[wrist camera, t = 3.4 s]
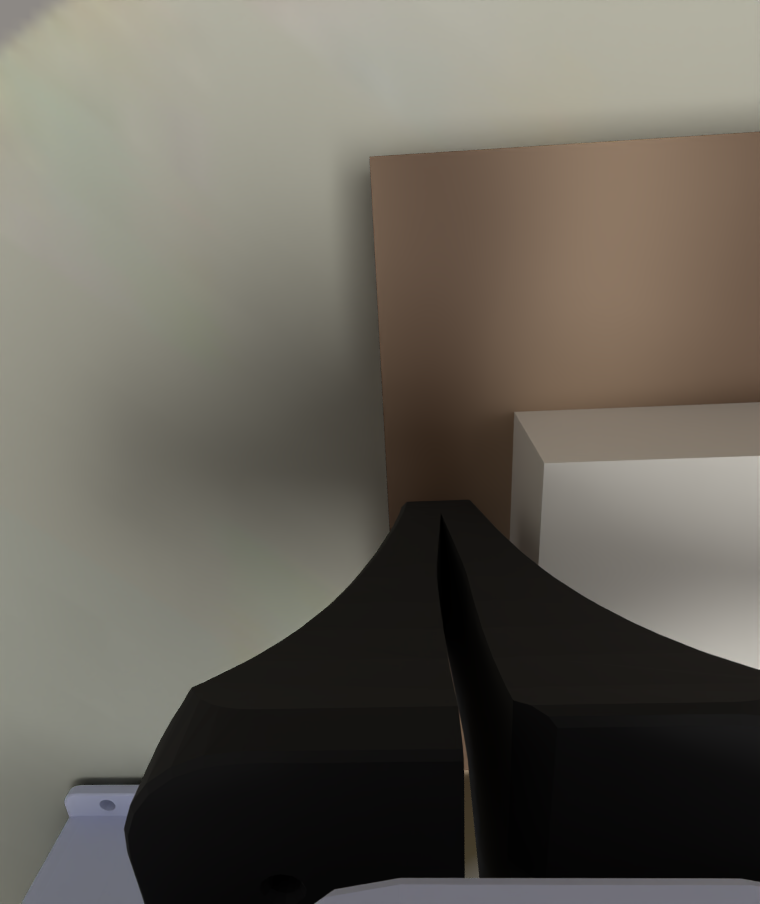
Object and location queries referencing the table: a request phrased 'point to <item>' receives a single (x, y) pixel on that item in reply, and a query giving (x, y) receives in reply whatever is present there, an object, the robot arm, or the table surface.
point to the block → (648, 515)
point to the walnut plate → (556, 296)
